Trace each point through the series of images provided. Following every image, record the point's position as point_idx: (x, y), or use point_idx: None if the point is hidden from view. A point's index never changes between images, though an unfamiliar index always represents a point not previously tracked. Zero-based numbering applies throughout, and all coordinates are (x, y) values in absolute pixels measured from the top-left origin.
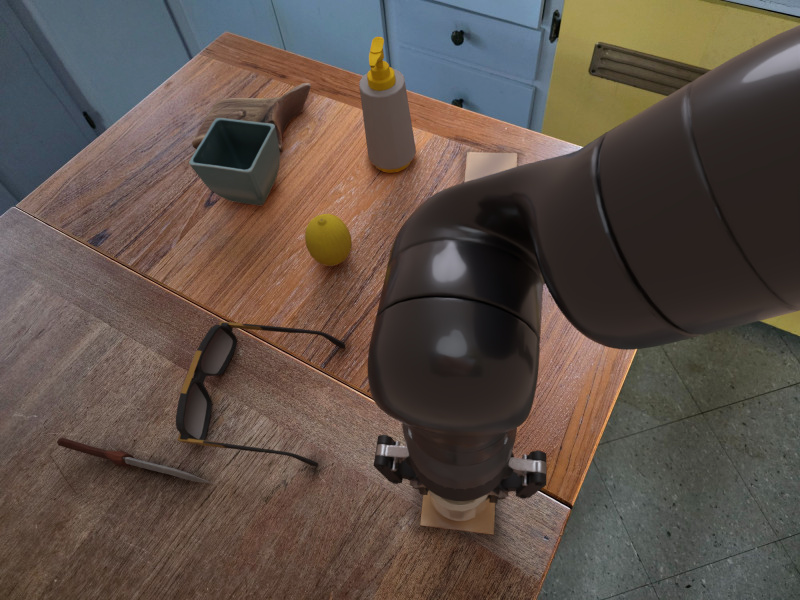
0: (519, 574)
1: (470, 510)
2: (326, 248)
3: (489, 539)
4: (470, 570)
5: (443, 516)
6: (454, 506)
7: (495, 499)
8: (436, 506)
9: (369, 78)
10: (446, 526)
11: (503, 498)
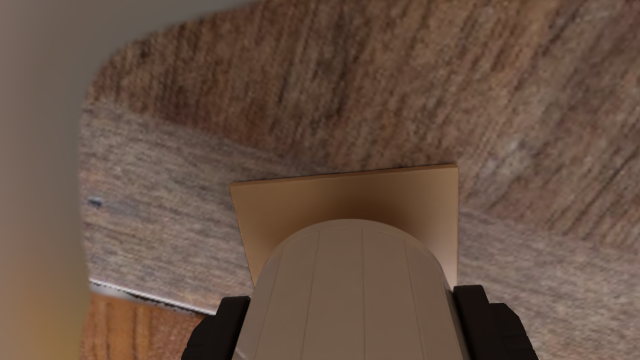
0: (128, 96)
1: (271, 357)
2: None
3: (239, 168)
4: (272, 71)
5: (386, 203)
6: None
7: (211, 344)
8: (421, 286)
9: None
10: (372, 179)
11: (199, 325)
